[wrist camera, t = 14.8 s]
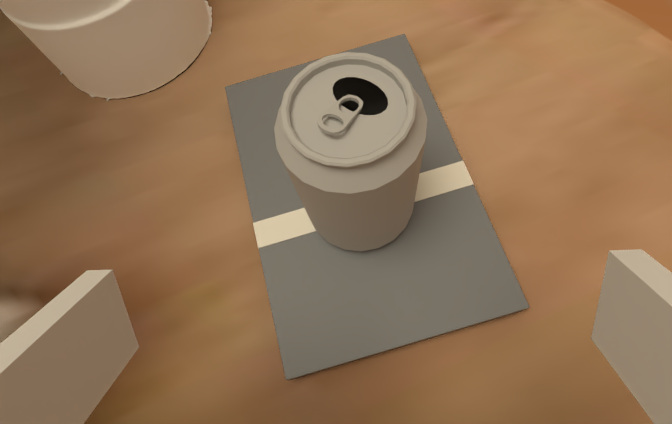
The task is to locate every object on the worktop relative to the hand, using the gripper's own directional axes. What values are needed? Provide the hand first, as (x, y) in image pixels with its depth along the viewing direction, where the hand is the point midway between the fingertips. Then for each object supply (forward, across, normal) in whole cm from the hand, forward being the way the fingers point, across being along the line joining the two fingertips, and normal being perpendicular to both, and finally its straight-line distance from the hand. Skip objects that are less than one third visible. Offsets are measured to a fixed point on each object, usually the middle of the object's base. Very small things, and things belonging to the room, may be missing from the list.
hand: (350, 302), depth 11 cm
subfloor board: (+21, -1, -4) cm, 21 cm away
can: (+18, 0, -5) cm, 19 cm away
